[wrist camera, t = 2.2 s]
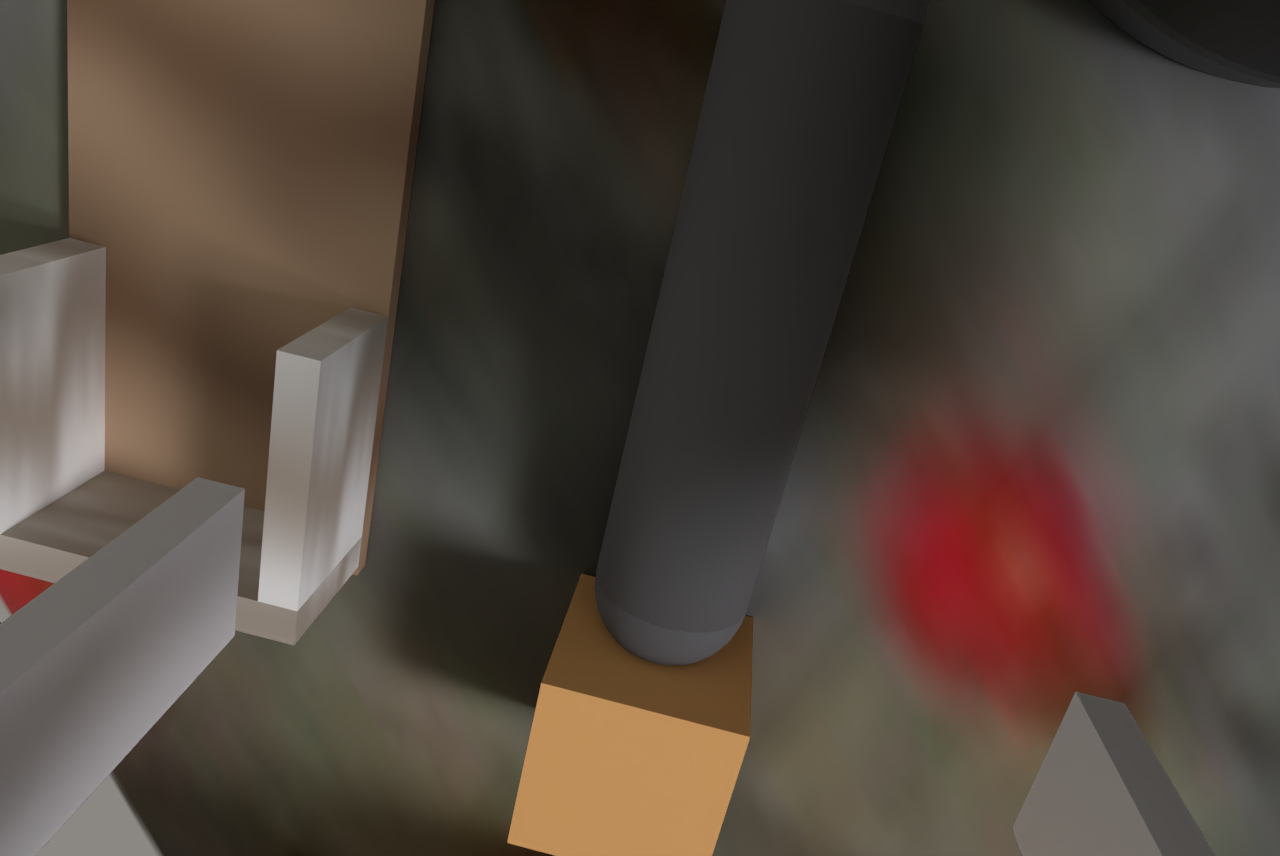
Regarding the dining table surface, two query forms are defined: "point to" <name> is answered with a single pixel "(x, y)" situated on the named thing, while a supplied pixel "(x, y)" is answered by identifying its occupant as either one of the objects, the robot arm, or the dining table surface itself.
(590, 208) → the dining table surface
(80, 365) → the wooden stand
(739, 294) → the grey handled block hammer
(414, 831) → the dining table surface
